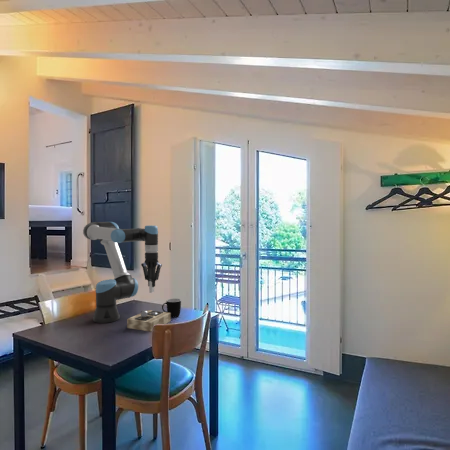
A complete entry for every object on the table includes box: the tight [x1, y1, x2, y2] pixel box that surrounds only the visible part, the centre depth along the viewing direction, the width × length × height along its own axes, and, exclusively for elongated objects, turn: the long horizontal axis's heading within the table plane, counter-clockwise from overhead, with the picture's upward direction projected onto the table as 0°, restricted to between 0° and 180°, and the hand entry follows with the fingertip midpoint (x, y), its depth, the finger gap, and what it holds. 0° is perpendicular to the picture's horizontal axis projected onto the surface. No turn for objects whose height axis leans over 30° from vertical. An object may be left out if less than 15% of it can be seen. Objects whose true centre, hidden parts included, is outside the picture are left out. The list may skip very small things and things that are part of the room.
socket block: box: [126, 309, 172, 333], centre depth 204 cm, size 16×20×5 cm
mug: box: [161, 298, 182, 319], centre depth 220 cm, size 12×9×10 cm
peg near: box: [140, 310, 148, 319], centre depth 199 cm, size 4×4×5 cm
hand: (151, 292), depth 206 cm, fingers closed
